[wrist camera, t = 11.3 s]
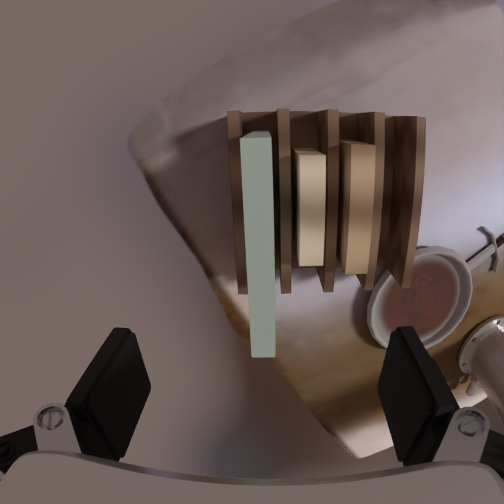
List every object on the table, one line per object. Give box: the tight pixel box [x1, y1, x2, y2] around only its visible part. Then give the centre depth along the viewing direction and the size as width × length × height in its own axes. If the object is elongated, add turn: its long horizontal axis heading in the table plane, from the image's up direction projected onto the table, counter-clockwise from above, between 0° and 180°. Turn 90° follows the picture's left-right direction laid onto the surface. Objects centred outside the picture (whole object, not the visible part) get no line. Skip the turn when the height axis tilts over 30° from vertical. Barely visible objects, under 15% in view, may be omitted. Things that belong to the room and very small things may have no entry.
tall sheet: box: [240, 131, 275, 357], centre depth 27 cm, size 14×2×18 cm, turn 2°
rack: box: [227, 109, 426, 294], centre depth 32 cm, size 18×19×7 cm
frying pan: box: [367, 226, 504, 349], centre depth 38 cm, size 17×3×28 cm
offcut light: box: [292, 148, 326, 266], centre depth 31 cm, size 10×2×8 cm, turn 3°
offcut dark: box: [336, 139, 376, 274], centre depth 31 cm, size 12×2×8 cm, turn 3°
